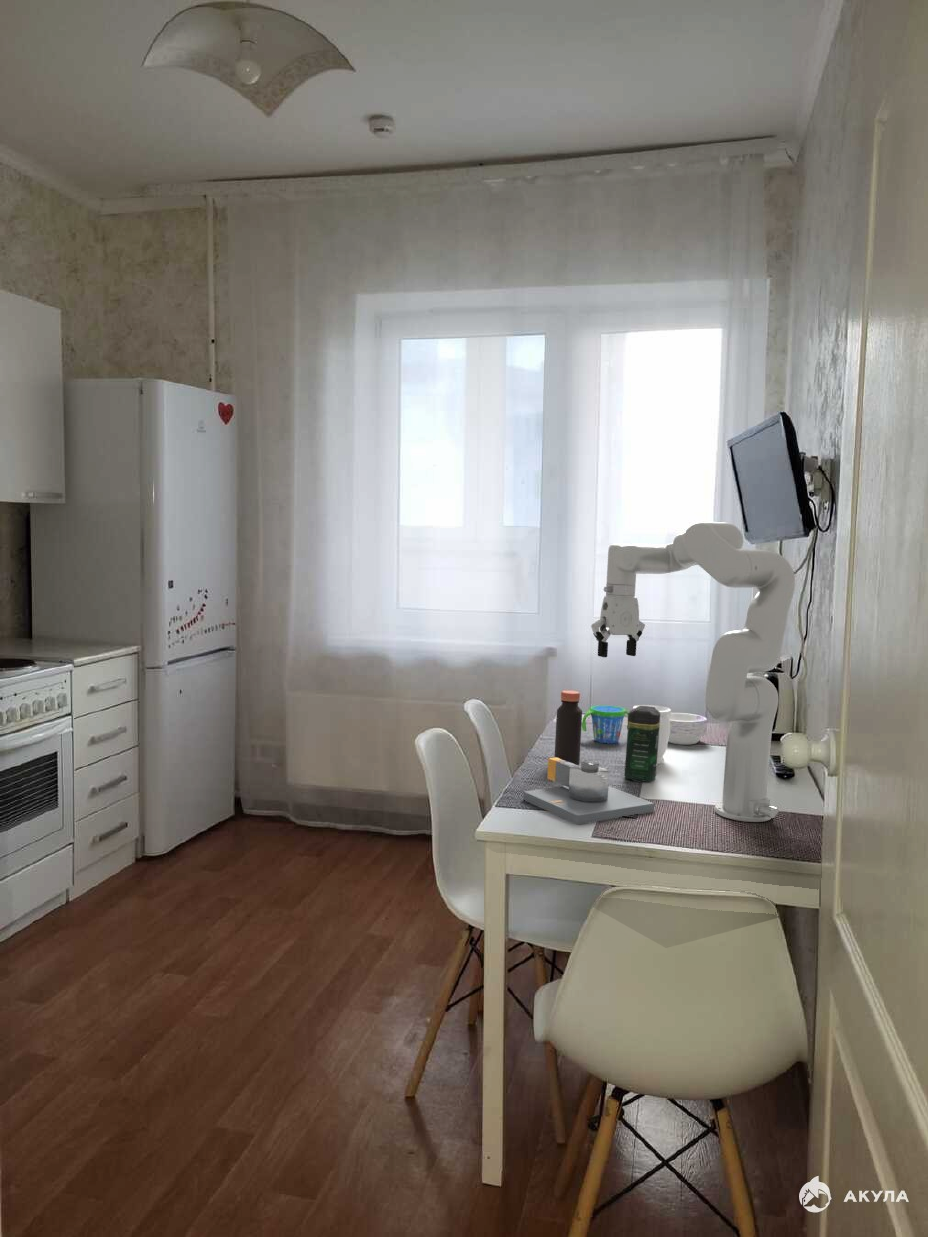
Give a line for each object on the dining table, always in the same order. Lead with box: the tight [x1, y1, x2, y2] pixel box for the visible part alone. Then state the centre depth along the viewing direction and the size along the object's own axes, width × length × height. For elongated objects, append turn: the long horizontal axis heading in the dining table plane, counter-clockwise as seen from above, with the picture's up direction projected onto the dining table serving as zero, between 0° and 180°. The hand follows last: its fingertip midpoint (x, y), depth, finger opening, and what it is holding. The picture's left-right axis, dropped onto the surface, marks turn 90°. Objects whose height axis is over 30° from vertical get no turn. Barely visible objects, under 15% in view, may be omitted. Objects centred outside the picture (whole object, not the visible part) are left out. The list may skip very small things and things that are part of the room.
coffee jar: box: [624, 706, 660, 783], centre depth 241 cm, size 10×8×19 cm
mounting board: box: [522, 785, 655, 826], centre depth 214 cm, size 20×22×2 cm
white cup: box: [632, 704, 672, 765], centre depth 260 cm, size 11×10×15 cm
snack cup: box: [581, 704, 630, 745], centre depth 283 cm, size 16×10×10 cm
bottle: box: [553, 690, 583, 766], centre depth 250 cm, size 7×7×20 cm
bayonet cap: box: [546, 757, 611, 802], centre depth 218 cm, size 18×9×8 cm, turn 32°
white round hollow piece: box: [668, 712, 708, 746], centre depth 287 cm, size 15×15×8 cm
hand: (616, 656), depth 246 cm, fingers open, 9 cm apart
